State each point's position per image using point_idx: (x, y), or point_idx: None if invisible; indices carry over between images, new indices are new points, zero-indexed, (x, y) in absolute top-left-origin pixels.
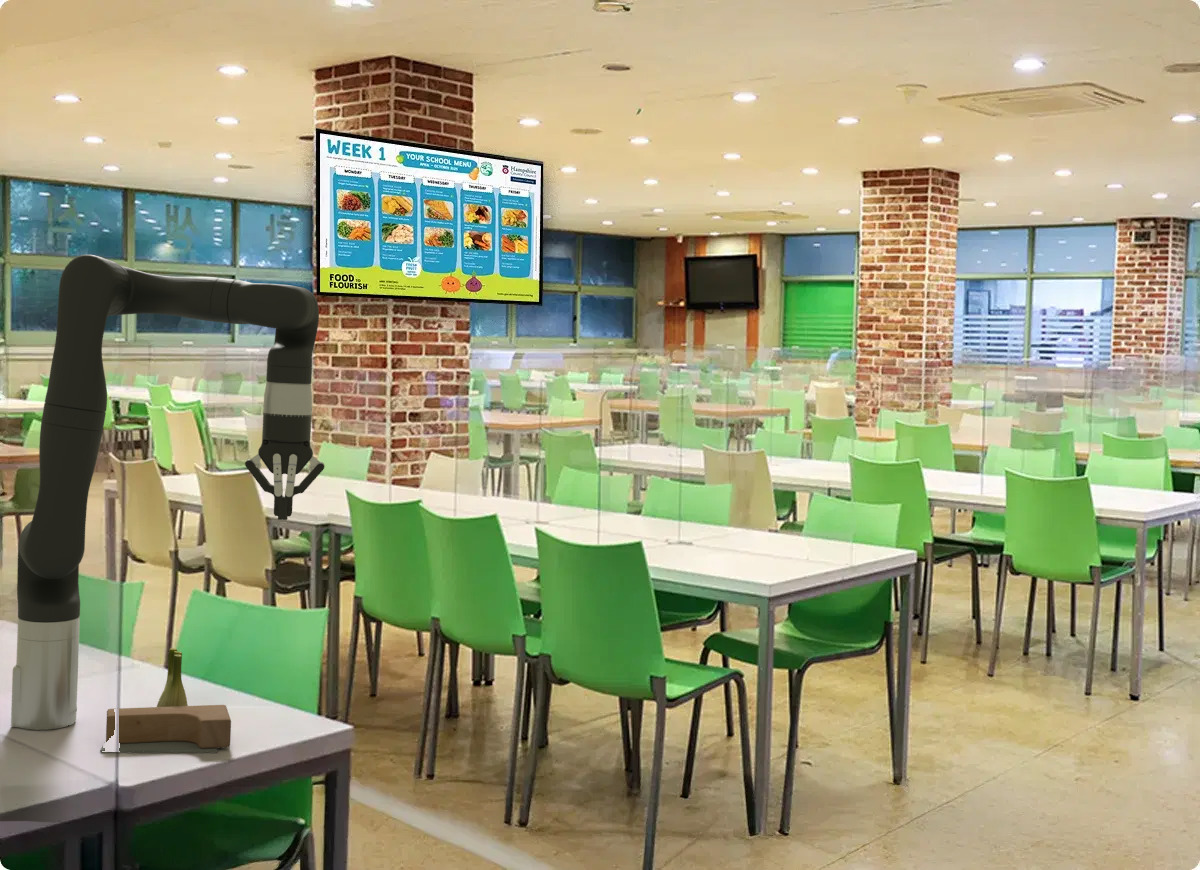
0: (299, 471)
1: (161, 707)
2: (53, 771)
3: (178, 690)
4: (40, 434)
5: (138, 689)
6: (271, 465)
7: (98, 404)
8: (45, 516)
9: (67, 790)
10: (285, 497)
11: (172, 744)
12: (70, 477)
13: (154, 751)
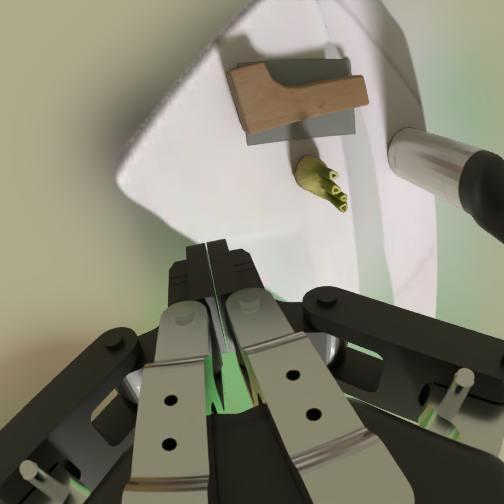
0: (124, 453)
1: (319, 111)
2: (369, 11)
3: (313, 160)
4: None
5: (351, 272)
6: (373, 431)
7: None
8: None
9: None
10: (202, 297)
11: (288, 78)
12: None
13: (300, 59)
